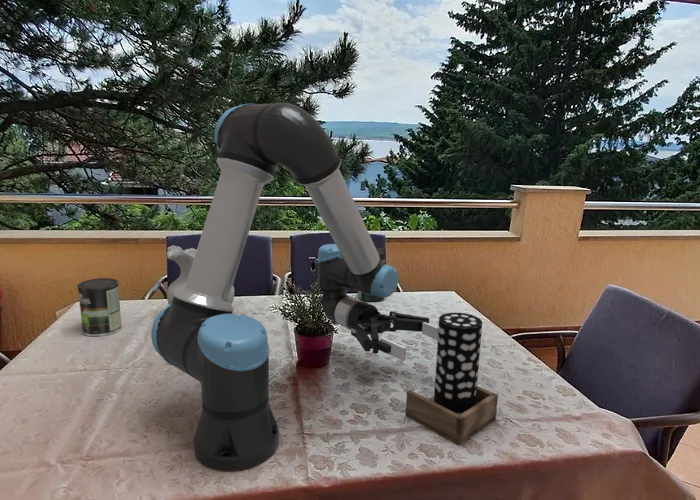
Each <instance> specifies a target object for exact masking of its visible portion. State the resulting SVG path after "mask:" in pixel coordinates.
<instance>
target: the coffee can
mask: <svg viewBox="0 0 700 500" xmlns="http://www.w3.org/2000/svg"><path fill="white" fill-rule="evenodd" d="M76 287H77V292H78V298H79V299H78V301H79V310H80V318H81V327H82V331H81V333H82V334H83V335H84V336H86V335H87V337H96V338H97V337H104V336H105V337H106V336H111V335H113V334H115V333H118V332H119V331H121V329H122V328H123V326H122V317H121V316H122V315H121V305H120V303H121V302H120V294H119V293H120V291H119V280H118V279H117V278H116V279H115V278H110V277H99V278H92V279H87V280H84V281H81V282H79V283H78V284H76Z"/></svg>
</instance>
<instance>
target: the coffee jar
mask: <svg viewBox="0 0 700 500" xmlns="http://www.w3.org/2000/svg"><path fill="white" fill-rule="evenodd" d="M375 248H376V250H377V252H378V254H379V257H380V259H381V261H382V263H383V264H384V265H386V251H385V250H384V248H383V247H375ZM357 299H358V300H361V301H363V302H381V301H383V300H385V298H383V297H379V296H372V295H370V294H367V293H364V292H360V291H357Z"/></svg>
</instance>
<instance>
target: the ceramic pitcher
mask: <svg viewBox="0 0 700 500" xmlns="http://www.w3.org/2000/svg"><path fill="white" fill-rule="evenodd" d="M166 249H167V252H166V258H167V260H170V261H174V262H175V263H176V264H177V265H178V266H179V268H180V274H179V277H177V279H175V280H174V281H172V282H171V283H170V284H169V286H168V287H167V291H166V299H167V304H168V305H170V304H171V303H172V300H173V297H174V294H175V293H177V292H179V291H180V290H182V289H184V288H185V286H186V283H187V279H188V276H189V273H190V270H191V267H192V264H193V260H194V257H195V254H196V251H197V248H196V249H195V248H193V247H190V248H186V249H183V248H182V247H180V246H179V245H178V246H177V245H171V246H168V247H167V248H166ZM234 299H235V287H234V285H233V286H232V289H231V293H230V296H229V302H230V303H231V305H232V304H233V302H234Z"/></svg>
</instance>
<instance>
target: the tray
mask: <svg viewBox="0 0 700 500" xmlns="http://www.w3.org/2000/svg"><path fill="white" fill-rule="evenodd" d="M498 399H499V394H496V393H494V392H493V391H490V390H487V389H485V388H483V387H481V386H478V385H477V391H476V403H475V406H473V407H471V408H470V409H468V410H467V411H465V412H464V413H462V414H461V415H459V414H457V413H455V412H453V411H451V410H449V409H447V408H445V407H443V406H441V405H439V404H437V403H435V402H434V395H432V396H431V397H428V398H427V397H426V396H424V395H421V394H419V393H417V392H415V391H413V390H411V389H410V390H407V391H406V401H405V417H407V418H409V419H411V420H412V421H414V422H416V423H418V424H419V425H422V426H423V427H425V428H427V429H428V430H430V431H432V432H434V433H435V434H437V435H439V436H440V437H442V438H444V439H446V440H448V441H450V442H452V443H453V444H455V445H456V446H460V445H462V444H464V443H466V441H468V440H469V439H471V438H472V437H473V436H475V435H476V434H478V433H479V432H480V431H482V430H483V429H484V428H486V427H487V426H488V425H490V424H491V423H493V422H494V421H495V420H496V418H497V410H498Z"/></svg>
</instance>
